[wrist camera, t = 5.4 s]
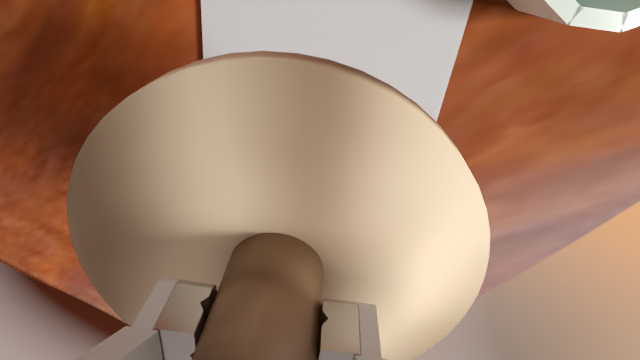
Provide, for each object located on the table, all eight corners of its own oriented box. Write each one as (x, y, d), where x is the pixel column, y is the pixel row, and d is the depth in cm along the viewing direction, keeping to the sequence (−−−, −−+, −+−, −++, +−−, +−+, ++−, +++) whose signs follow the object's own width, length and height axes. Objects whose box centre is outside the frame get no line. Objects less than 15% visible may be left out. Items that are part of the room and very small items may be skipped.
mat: (210, 186, 30) (208, 189, 29) (201, -44, 21) (198, -44, 21) (406, 213, 30) (407, 217, 29) (472, -6, 21) (475, -5, 21)
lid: (122, 342, 16) (41, 484, 12) (35, 18, 9) (-240, 71, 5) (420, 378, 16) (447, 531, 12) (553, 86, 9) (733, 197, 5)
